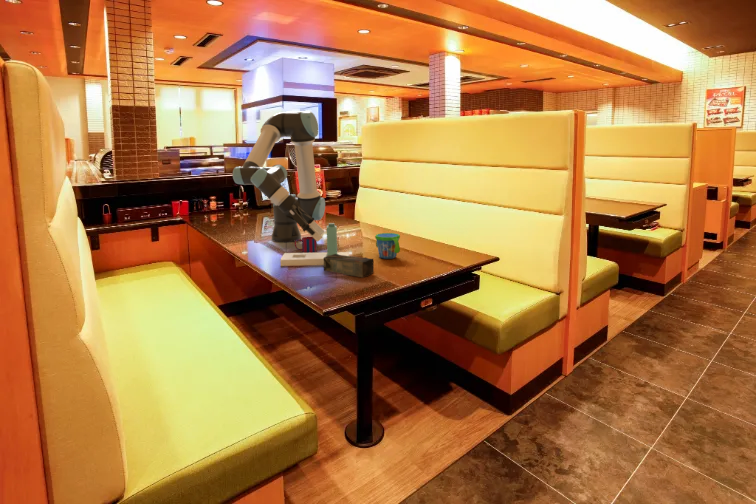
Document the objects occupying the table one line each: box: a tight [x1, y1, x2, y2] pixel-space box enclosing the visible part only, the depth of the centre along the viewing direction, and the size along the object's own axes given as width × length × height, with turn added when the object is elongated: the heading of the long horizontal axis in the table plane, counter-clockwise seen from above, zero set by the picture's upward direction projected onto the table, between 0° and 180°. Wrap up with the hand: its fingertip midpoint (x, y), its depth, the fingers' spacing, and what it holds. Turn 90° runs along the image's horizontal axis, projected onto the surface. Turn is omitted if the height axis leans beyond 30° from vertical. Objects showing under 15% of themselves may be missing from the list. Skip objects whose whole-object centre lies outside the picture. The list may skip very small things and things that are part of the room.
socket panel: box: [280, 251, 350, 268], centre depth 203 cm, size 12×28×3 cm, turn 93°
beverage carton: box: [323, 254, 375, 278], centre depth 187 cm, size 8×19×7 cm, turn 59°
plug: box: [326, 222, 338, 256], centre depth 201 cm, size 4×4×16 cm
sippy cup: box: [374, 232, 401, 260], centre depth 210 cm, size 16×10×10 cm
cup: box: [294, 236, 318, 253], centre depth 221 cm, size 7×10×7 cm
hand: (321, 236), depth 199 cm, fingers open, 13 cm apart
